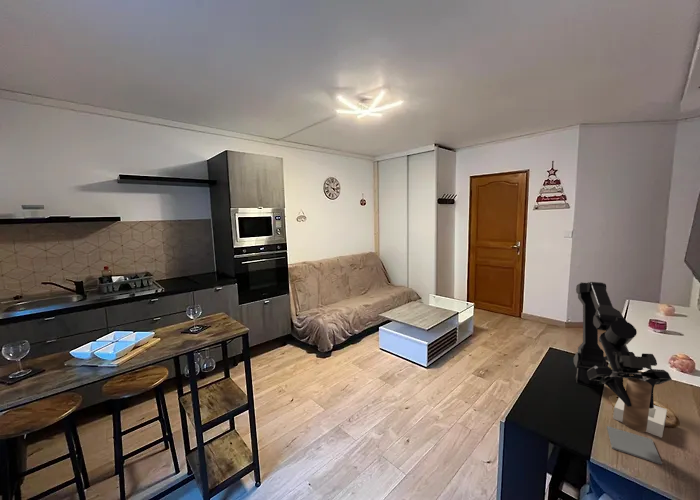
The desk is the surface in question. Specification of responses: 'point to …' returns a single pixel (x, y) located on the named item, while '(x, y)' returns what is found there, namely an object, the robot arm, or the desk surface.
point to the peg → (637, 404)
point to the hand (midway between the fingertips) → (640, 407)
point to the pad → (633, 444)
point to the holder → (654, 418)
